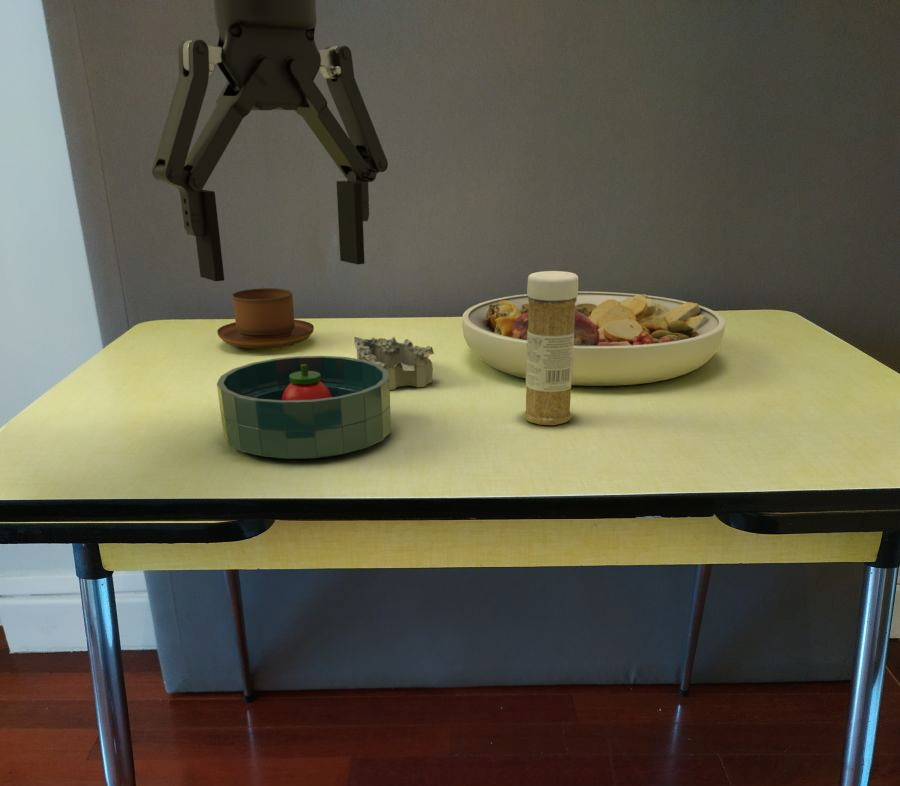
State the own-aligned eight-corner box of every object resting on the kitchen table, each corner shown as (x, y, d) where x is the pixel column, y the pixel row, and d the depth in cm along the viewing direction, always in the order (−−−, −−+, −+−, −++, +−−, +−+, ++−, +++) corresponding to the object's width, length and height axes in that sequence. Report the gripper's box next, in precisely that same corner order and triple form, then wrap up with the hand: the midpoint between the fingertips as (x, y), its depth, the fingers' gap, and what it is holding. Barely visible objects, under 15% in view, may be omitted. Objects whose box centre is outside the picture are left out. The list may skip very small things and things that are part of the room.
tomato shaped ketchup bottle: (301, 441, 81) (295, 374, 78) (275, 428, 84) (268, 364, 81) (344, 430, 84) (339, 365, 81) (317, 418, 87) (312, 355, 84)
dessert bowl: (279, 478, 75) (273, 413, 72) (196, 433, 85) (188, 374, 82) (424, 438, 83) (423, 379, 81) (333, 401, 94) (329, 347, 91)
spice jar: (566, 411, 90) (574, 269, 83) (574, 426, 86) (582, 277, 79) (520, 412, 90) (525, 269, 83) (525, 427, 86) (530, 278, 79)
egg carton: (437, 387, 98) (437, 349, 96) (368, 393, 96) (366, 354, 94) (416, 362, 107) (415, 327, 105) (353, 366, 105) (351, 331, 103)
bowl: (494, 324, 124) (495, 263, 120) (722, 337, 117) (730, 273, 113) (431, 384, 99) (429, 309, 95) (715, 404, 92) (727, 325, 88)
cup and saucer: (214, 337, 119) (208, 288, 116) (305, 330, 122) (301, 282, 119) (224, 359, 109) (217, 306, 106) (323, 351, 112) (319, 299, 109)
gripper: (116, -56, 57) (165, 293, 68) (426, -25, 71) (428, 261, 82) (73, -44, 62) (125, 279, 73) (371, -17, 76) (379, 251, 87)
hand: (285, 270), depth 77 cm, fingers open, 13 cm apart
